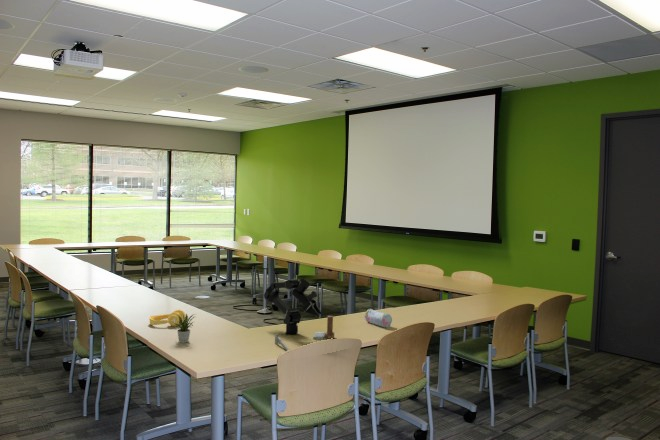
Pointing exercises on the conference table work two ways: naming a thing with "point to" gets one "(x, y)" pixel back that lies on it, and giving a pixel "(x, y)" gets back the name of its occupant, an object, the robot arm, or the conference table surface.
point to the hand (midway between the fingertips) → (319, 314)
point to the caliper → (280, 342)
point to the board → (319, 335)
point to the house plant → (184, 328)
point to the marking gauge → (329, 328)
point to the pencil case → (378, 318)
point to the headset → (158, 318)
